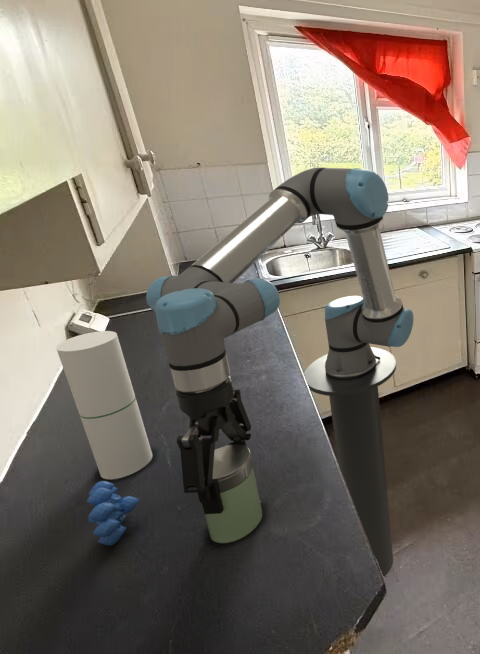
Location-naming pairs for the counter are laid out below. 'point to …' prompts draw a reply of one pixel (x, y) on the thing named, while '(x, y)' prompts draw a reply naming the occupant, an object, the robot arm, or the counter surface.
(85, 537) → the counter surface
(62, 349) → the container
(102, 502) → the grapes
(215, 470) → the flask lid
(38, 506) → the counter surface
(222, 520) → the flask
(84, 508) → the counter surface
